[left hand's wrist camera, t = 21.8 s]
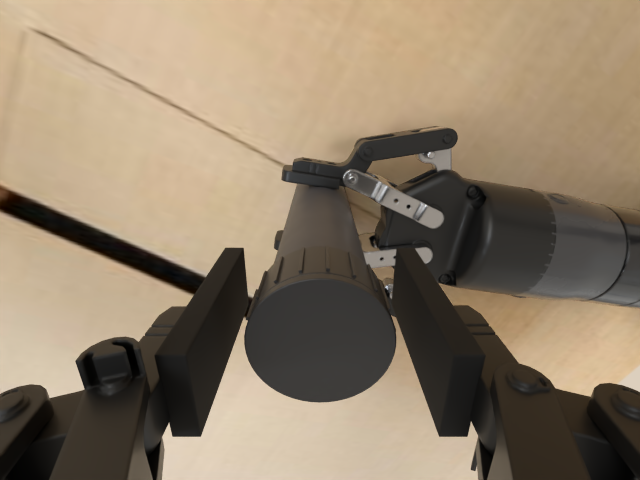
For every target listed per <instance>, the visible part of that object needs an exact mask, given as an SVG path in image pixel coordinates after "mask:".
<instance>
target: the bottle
mask: <svg viewBox="0 0 640 480" xmlns="http://www.w3.org/2000/svg"><path fill="white" fill-rule="evenodd" d="M319 246H322V247H325V246H329V247H332V248H337V249H341V250H344V251H347V252H349V251H350V252H352V254H353V255H355V256H357V257H358V258H360V259H361V260H363V261H364V262H365V263H366V260H365V257H364V253H363V250H362V247H361V243H360V240H359V236H358V233H357V229H356V226H355V223H354V219H353V216H352V212H351V209H350V205H349V202H348V199H347V195H346V192H345V188H344V186H339V190H336V189H330V188H325V187H317V186H310V185H304V184H298V183H297V187H296V190H295V194H294V197H293V200H292V204H291V207H290V211H289V214H288V218H287V221H286V224H285V228H284V231H283V235H282V238H281V242H280V245H279V248H278V252H277V255H276V259H275V262H274V263H276V262H277V261H278V260H279V259H280V257H281V256H283V257H284V256H286V255H287V254H289V253H292V252H294V251H296V250H300V249H301V248H303V247H304V248H308V247H319Z"/></svg>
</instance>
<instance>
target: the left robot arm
mask: <svg viewBox="0 0 640 480" xmlns="http://www.w3.org/2000/svg"><path fill="white" fill-rule="evenodd" d="M248 304H249V303H248V292H247V281H246V270H245V259H244V248H225V249H224V251H223V252H222V254H221V255H220V257H219V258H218V260H217V261H216V263H215V264H214V266H213V267H212V269H211V270H210V272H209V273H208V275H207V276H206V278H205V279H204V281H203V283H202V284H201V286H200V287H199V289H198V290H197V292H196V293H195V295H194V296H193V298H192V299H191V301H190V302H189V304H188V305H187V307H171V308H169V309H168V310H166V311H165V312H163V313H162V314H161V315H159V316H158V318H157V319H156V320H155V322H154V323H153V324H152V327H151V328H149V329H148V331H147V332H146V333H145V336H143V337H142V339H141V340H140V341H139V342H138V341H136V340H135V339H134V338H129V337H116V338H111V339H108V340H104V341H101V342H99V343H97V344H95V345H93V346H91V347H89V348H88V349H87V350H85V351H84V352H83V353H81V355H80V356H79V357H78V358H77V360H76V364H77V367H78V370H79V373H80V376H81V379H82V382H83V385H84V388H85V390H82V391H79V392H75V393H71V394H66V395H62V396H58V397H53V398H49V395H48V393H47V390H46V389H45V388H44V387H42V386H41V385H25V386H20V387H16V388H14V389H11V390H8V391H6V392H3V393H1V394H0V480H162V470H163V459H164V444H163V439H162V436H163V434H164V432H165V429H166V427H167V425H168V423H170V427H171V432H172V436H173V437H201V434H202V432H203V429H204V426H205V423H206V421H207V418H208V415H209V412H210V409H211V407H212V404H213V401H214V398H215V396H216V393H217V390H218V387H219V384H220V382H221V379H222V376H223V373H224V371H225V368H226V365H227V362H228V359H229V357H230V354H231V351H232V348H233V346H234V343H235V340H236V337H237V334H238V332H239V329H240V326H241V323H242V321H243V318H244V315H245V312H246V309H247V307H248ZM391 304H392V307H393V309H394V312H395V315H396V318H397V321H398V323H399V326H400V329H401V332H402V334H403V337H404V340H405V343H406V346H407V348H408V351H409V354H410V357H411V359H412V362H413V365H414V368H415V371H416V373H417V376H418V379H419V382H420V384H421V387H422V390H423V393H424V396H425V398H426V401H427V404H428V407H429V409H430V412H431V415H432V418H433V421H434V423H435V426H436V429H437V432H438V434H439V437H467V436H468V432H469V427H470V423H471V421H472V424H473V426H474V428H475V430H476V432H477V434H478V439H477V444H476V448H475V452H474V456H473V460H472V465H471V470H473V471H475V470H476V466H477V469H478V480H640V392H638V391H636V390H634V389H631V388H628V387H625V386H623V385H618V384H612V383H605V384H599V385H598V386H596V387H595V388H594V390H593V393H592V395H591V397H589V396H584V395H580V394H576V393H571V392H567V391H563V390H559V389H556V388H555V387H554V386H553V384H552V383H551V381H550V380H549V379H548V378H546V377H545V376H544V375H543V374H542V373H540V372H538V371H537V370H535V369H533V368H531V367H528V366H525V365H522V364H519V363H518V362H517V361H516V359H515V358H514V357H513V355H512V354H511V353H510V351H509V350H508V349H507V348H506V346H505V345H504V344H503V342H502V341H501V340H500V338H499V337H498V336H497V335H495V332H494V331H493V329H492V328H491V327H490V326H489V324H488V323H487V322H486V320H485V319H484V318H483V316H482V315H481V314H480V313H478V312H477V311H475V310H474V309H472V308H471V307H470V306H453V305H452V304H451V302H450V301H449V299H448V298H447V296H446V295H445V293H444V292H443V290H442V289H441V287H440V286H439V284H438V283H437V281H436V280H435V278H434V276H433V275H432V273H431V272H430V270H429V269H428V267H427V266H426V264H425V263H424V261H423V260H422V258H421V257H420V255H419V254H418V252H417V251H416V249H415V248H396V259H395V270H394V281H393V292H392V303H391Z"/></svg>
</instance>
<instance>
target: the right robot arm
mask: <svg viewBox="0 0 640 480" xmlns="http://www.w3.org/2000/svg"><path fill="white" fill-rule="evenodd" d="M457 139H458V136H457V133H456V132H455V131H454V130H453V129H450V128H445V127H439V126H433V127H427V128H421V129H414V130H408V131H402V132H396V133H390V134H383V135H377V136H371V137H365V138H360V139H359V140H357V142H356V143H355V147H354V150H353V151H352V153H351V155H350V157H349V158H348V159H347V160H346V161H345V162H342V163H334V162H328V161H322V160H316V159H309V158H303V157H302V158H298V159H294V162H293V165H285V166H284V167H283V171H282V180H283V181H286V182H291V183H298V184H304V185H310V186H317V187H325V188H330V189H336V190H339V186H344V187H348V188H350V189H352V190H354V191H357V192H359V193H361V194H363V195H365V196H367V197H370V198H371V199H373V200H374V201H376V202H377V203H379V204H381V219H380V221H379V223H378V225H377V226H376V229H375V233H367V234H361V235H359V240H360V243H361V247H362V250H363V253H364V257H365V260H366V264H370V266H371V268H377V267H386V266H392V267H393V268H394V269H395V259H396V248H415V249H416V251H417V252H418V254H419V255H420V257H421V258H422V260H423V261H424V263H425V264H426V266H427V267H428V269H429V270H430V272H431V273H432V275H433V276H434V278H435V280H436V281H437V283H441V284H445V285H449V286H453V287H457V288H464V289H471V290H479V291H486V292H493V293H500V294H508V295H512V296H515V297H520V298H522V297H523V298H526V297H529V298H536V299H544V300H576V301H584V302H591V303H598V304H605V305H612V306H619V307H627V308H640V211H639V210H634V209H628V208H621V207H615V206H609V205H602V204H597V203H592V202H588V201H585V200H582V199H579V198H576V197H572V196H568V195H563V194H557V193H551V192H545V191H538V190H532V189H526V188H520V187H514V186H507V185H501V184H495V183H489V182H482V181H476V180H470V179H465V178H462V177H461V176H460V175H459V174H458V173H456V172H455V171H452V170H451V148H452V147H453V146H454V145H455V144H456V142H457ZM414 154H415V157H416V158H417V159H418V160H420V161H421V162H423V163H431V165H432V167H433V169H432V170H430V171H428V172H426V173H424V174H422V175H420V176H417V177H415V178H413V179H411V180H409V181H407V182H405V183H403V184H401V185H398V184H396V183H394V182H392V181H390V180H388V179H386V178H384V177H381V176H379V175H377V174H373V173H371V172H369V171H367V169H368V168H369V166H370V164H371V163H372V161H376V160H383V159H389V158H395V157H402V156H408V155H414ZM283 231H284V230H280V231H277V234H276V237H275V243H274V248H275V249H276V250H278V248H279V245H280V242H281V238H282V235H283ZM374 241H375V242H374ZM378 280H379V279H378ZM379 281H381V280H379ZM393 281H394V279H391V278H385V279H384V280H383V281H382V284H383V287H384V290H385V293H386V295H387V298H388V301H389V304H390V307H391V311H390V314H391V315H392V316H394V317H396V315H395V312H394V309H393V307H392V304H391V303H392V292H393Z"/></svg>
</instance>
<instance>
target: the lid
mask: <svg viewBox="0 0 640 480" xmlns="http://www.w3.org/2000/svg"><path fill="white" fill-rule="evenodd" d="M390 311H391V307H390V304H389V301H388V298H387V295H386V293H385V290H384V287H383V284H382V281H379V280H378V278H377V276H376V275H375V273H374V272H373V270H372V269H371V266H370V264H366V263H365V262H364V261H363V260H361V259H360V258H358V257H357V256H355V255H353V254H352V252H350V251H349V252H347V251H344V250H341V249H337V248H332V247H329V246H325V247H322V246H319V247H308V248H304V247H303V248H301V249H300V250H296V251H294V252H292V253H289V254H287V255H286V256H284V257H283V256H281V257H280V259H279V260H278V261H277V262H276V263H274V264H273V265H272V267H271V268H270V269H269V270H268V271H265V272H264V274H263V277H262V280H261V283H260V286H259V289H256V291H255V294H254V297H253V300H252V303H251V306H250V309H249V312H248V314H247V317H246V320H248V323H247V326H246V330H245V336H244V340H245V350H246V354H247V357H248V360H249V362H250V364H251V366H252V368H253V370H254V371H255V372H256V374H257V375H258V376H259V377H260V378H261V379H262V380H263V381H264V382H265V383H266V384H267V385H268V386H270V387H271V388H273V389H274V390H276V391H277V392H279V393H281V394H283V395H286V396H288V397H291V398H294V399H298V400H302V401H308V402H332V401H339V400H343V399H347V398H349V397H352V396H355V395H357V394H359V393H361V392H363V391H365V390H366V389H368V388H370V387H371V386H372V385H373V384H375V383H376V382H377V381H378V380H379V379H380V378H381V377H382V376H383V375H384V373H385V372H386V370H387V369H388V367H389V365H390V364H391V362H392V359H393V356H394V353H395V348H396V329H395V326H394V323H393V320H392V317H391V314H390Z"/></svg>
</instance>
